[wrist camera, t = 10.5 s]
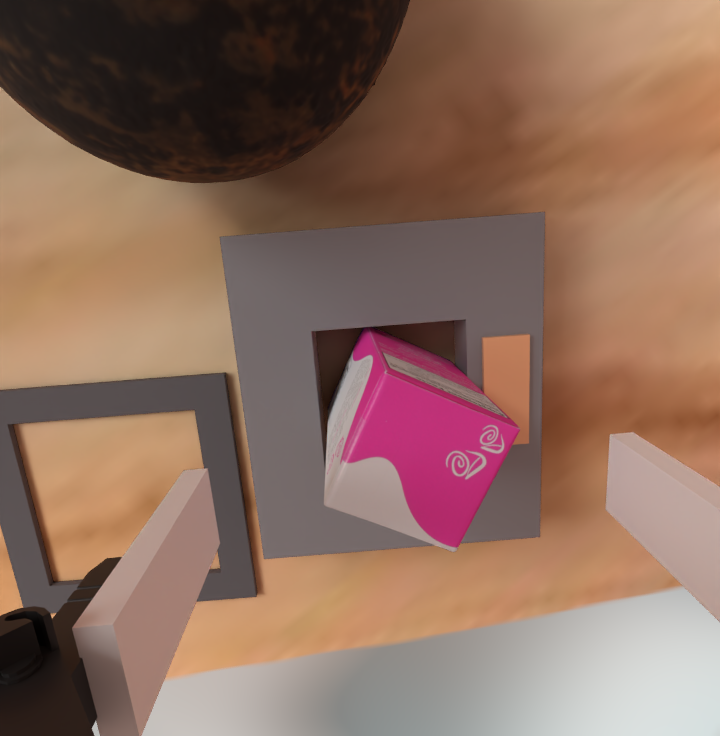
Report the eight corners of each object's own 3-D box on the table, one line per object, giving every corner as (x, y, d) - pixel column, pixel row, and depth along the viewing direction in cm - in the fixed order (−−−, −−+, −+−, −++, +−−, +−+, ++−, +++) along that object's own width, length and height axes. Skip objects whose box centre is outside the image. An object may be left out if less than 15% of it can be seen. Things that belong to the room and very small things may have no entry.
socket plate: (233, 238, 26) (217, 236, 23) (523, 216, 27) (547, 211, 23) (272, 530, 31) (263, 562, 27) (521, 510, 31) (542, 539, 28)
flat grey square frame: (-31, 392, 28) (-36, 394, 28) (225, 372, 28) (223, 374, 28) (29, 610, 32) (25, 615, 31) (257, 592, 32) (256, 596, 31)
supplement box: (414, 445, 30) (454, 561, 18) (325, 408, 29) (312, 506, 18) (456, 360, 28) (526, 430, 17) (364, 320, 28) (376, 366, 17)
